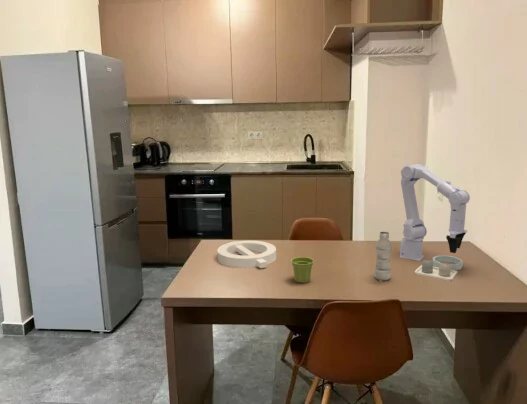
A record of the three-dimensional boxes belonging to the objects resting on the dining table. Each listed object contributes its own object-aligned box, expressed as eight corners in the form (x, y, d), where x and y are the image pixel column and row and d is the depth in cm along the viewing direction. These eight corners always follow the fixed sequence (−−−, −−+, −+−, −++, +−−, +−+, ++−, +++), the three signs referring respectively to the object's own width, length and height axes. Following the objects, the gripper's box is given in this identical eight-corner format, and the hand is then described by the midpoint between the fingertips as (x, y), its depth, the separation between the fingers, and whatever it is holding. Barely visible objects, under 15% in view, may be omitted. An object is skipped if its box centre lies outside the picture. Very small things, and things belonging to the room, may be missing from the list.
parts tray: (413, 275, 186) (413, 271, 186) (421, 267, 194) (421, 264, 194) (451, 282, 177) (451, 279, 177) (457, 274, 186) (457, 271, 186)
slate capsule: (420, 272, 187) (421, 261, 186) (423, 269, 191) (424, 259, 190) (431, 274, 185) (431, 263, 184) (433, 271, 188) (434, 261, 187)
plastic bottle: (391, 277, 184) (393, 231, 180) (390, 283, 177) (392, 235, 173) (375, 275, 186) (376, 230, 182) (373, 281, 179) (375, 234, 175)
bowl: (429, 268, 194) (429, 261, 193) (436, 260, 203) (437, 253, 202) (458, 273, 187) (458, 266, 186) (464, 265, 196) (465, 258, 195)
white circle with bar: (265, 271, 194) (265, 261, 193) (208, 265, 203) (207, 255, 202) (282, 252, 220) (282, 242, 219) (231, 247, 229) (230, 238, 228)
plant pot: (286, 279, 183) (286, 259, 181) (303, 274, 189) (303, 255, 187) (301, 286, 176) (301, 266, 174) (318, 281, 181) (318, 261, 179)
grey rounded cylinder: (437, 275, 183) (438, 265, 182) (440, 272, 187) (441, 262, 186) (448, 277, 181) (449, 267, 180) (451, 274, 184) (452, 264, 183)
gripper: (464, 224, 177) (461, 256, 180) (471, 217, 188) (468, 247, 191) (445, 222, 181) (443, 253, 184) (453, 214, 192) (451, 244, 195)
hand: (454, 250), depth 188 cm, fingers open, 7 cm apart
